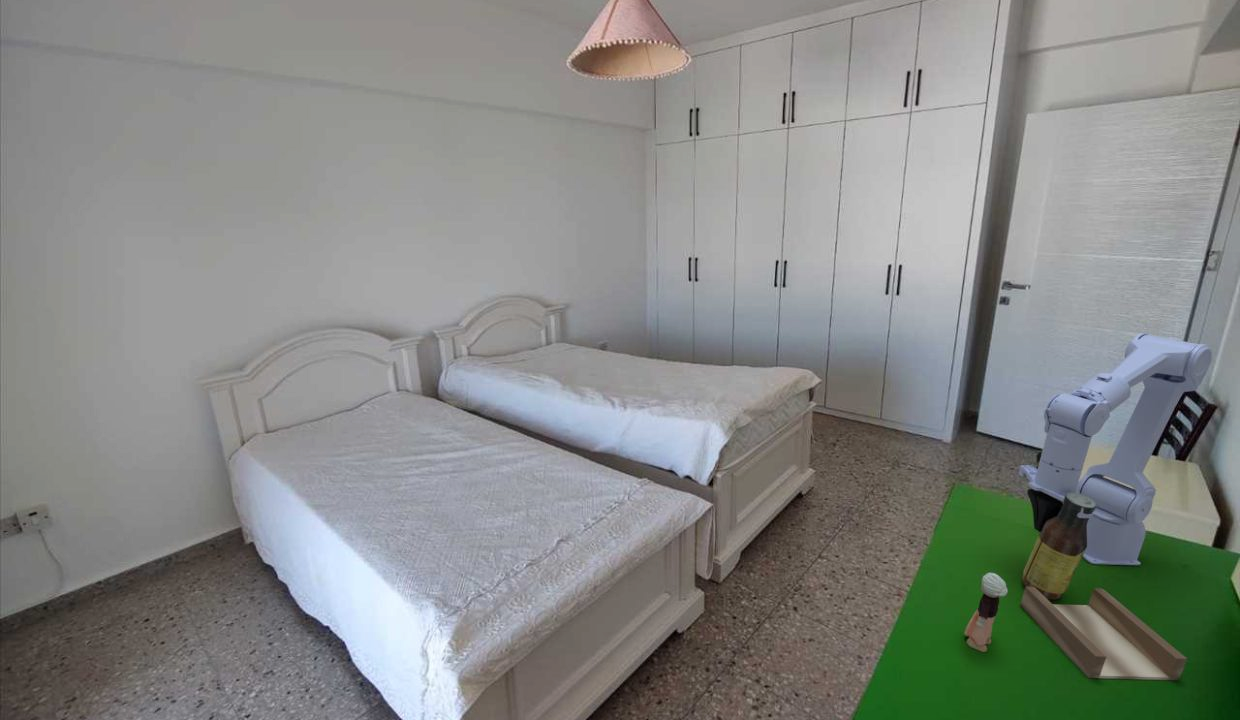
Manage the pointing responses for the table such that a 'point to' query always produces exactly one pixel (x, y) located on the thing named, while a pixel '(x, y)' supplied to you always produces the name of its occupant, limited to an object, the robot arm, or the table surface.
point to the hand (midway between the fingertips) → (1042, 530)
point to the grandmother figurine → (985, 612)
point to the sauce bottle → (1059, 548)
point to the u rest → (1105, 638)
